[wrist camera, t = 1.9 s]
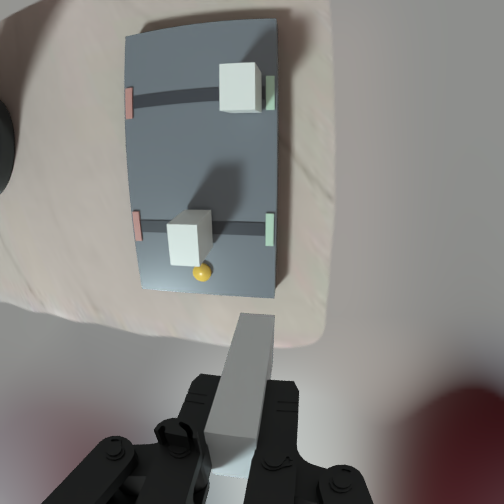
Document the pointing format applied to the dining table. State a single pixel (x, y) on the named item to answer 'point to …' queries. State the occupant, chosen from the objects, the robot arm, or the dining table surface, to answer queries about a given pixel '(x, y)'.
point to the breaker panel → (203, 155)
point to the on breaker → (240, 88)
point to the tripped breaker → (190, 237)
